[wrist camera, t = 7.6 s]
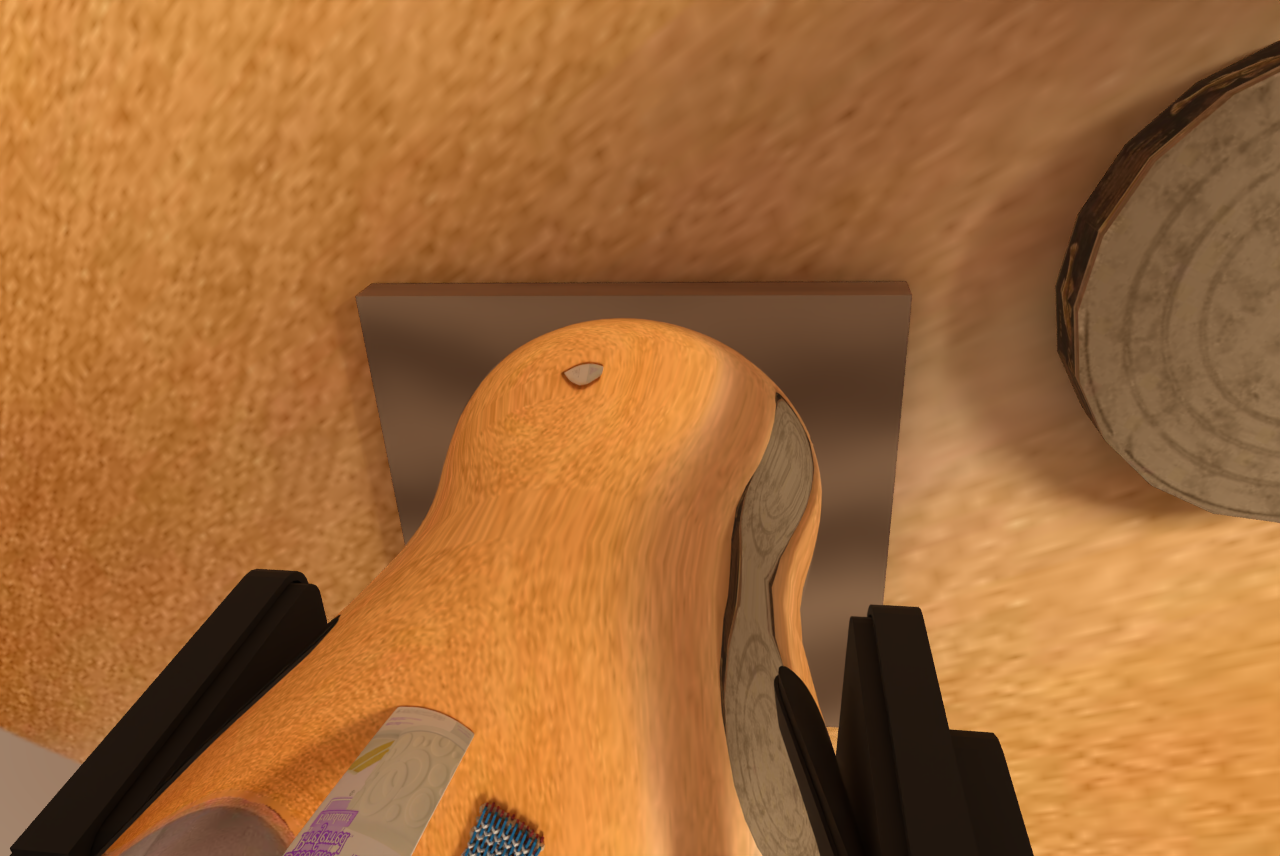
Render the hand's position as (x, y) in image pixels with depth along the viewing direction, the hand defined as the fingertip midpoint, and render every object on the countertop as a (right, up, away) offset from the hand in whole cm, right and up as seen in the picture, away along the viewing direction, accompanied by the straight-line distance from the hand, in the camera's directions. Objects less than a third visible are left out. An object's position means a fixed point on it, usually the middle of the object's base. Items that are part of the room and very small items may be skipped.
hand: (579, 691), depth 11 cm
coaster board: (+1, 0, +27) cm, 27 cm away
